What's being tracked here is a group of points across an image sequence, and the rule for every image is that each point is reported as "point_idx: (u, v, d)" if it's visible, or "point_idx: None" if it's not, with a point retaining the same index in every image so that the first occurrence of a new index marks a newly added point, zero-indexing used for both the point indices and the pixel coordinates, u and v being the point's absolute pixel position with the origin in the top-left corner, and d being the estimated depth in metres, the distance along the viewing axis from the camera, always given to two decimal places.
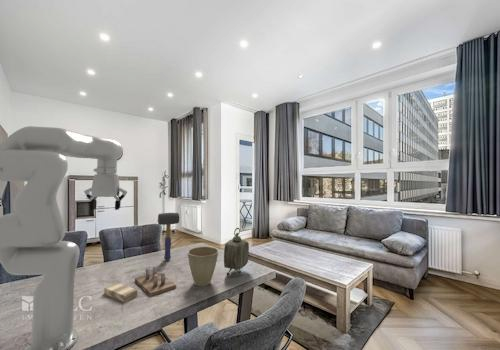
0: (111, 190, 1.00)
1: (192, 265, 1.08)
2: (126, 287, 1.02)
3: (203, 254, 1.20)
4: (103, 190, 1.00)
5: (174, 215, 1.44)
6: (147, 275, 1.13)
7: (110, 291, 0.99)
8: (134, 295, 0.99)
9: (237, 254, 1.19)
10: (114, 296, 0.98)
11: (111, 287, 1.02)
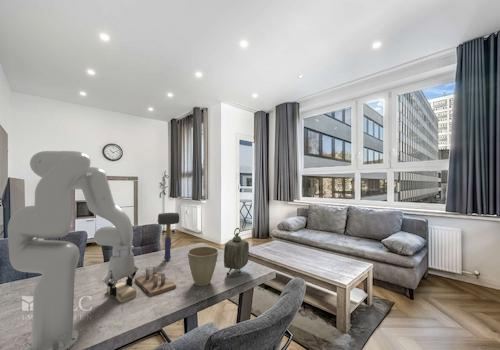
0: None
1: (192, 265, 1.08)
2: (127, 286, 1.02)
3: (203, 254, 1.20)
4: None
5: (174, 215, 1.44)
6: (147, 275, 1.13)
7: None
8: (132, 295, 0.98)
9: (237, 254, 1.20)
10: None
11: None
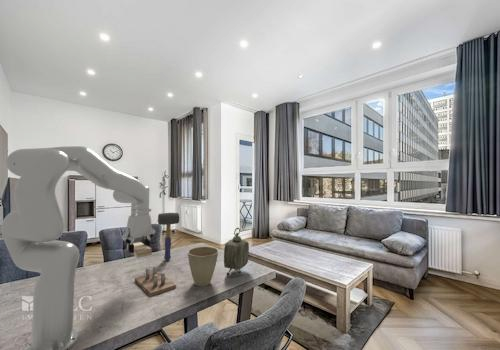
0: None
1: (192, 265, 1.08)
2: (144, 245, 1.07)
3: (203, 254, 1.20)
4: None
5: (174, 215, 1.44)
6: (147, 275, 1.13)
7: None
8: (148, 253, 1.02)
9: (237, 254, 1.20)
10: None
11: None
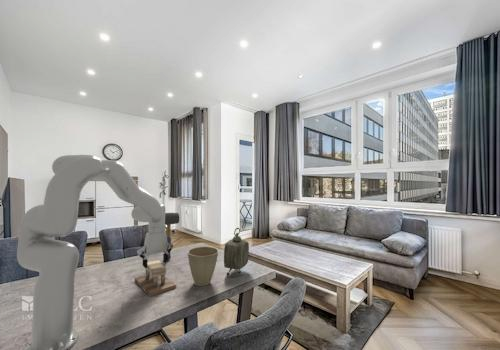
0: None
1: (192, 265, 1.08)
2: (160, 264, 1.12)
3: (203, 254, 1.20)
4: None
5: (174, 215, 1.44)
6: (147, 275, 1.13)
7: (147, 265, 1.11)
8: (162, 272, 1.06)
9: (237, 254, 1.19)
10: (148, 270, 1.09)
11: (150, 262, 1.14)
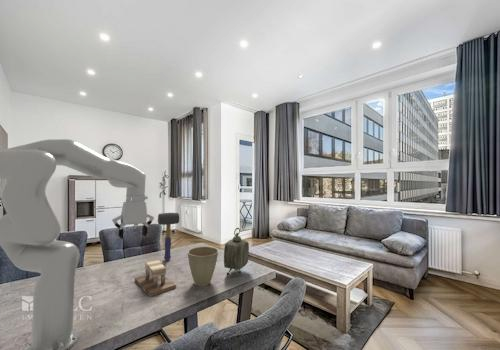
0: None
1: (192, 265, 1.08)
2: (160, 264, 1.12)
3: (203, 254, 1.20)
4: None
5: (174, 215, 1.44)
6: (147, 275, 1.13)
7: (147, 265, 1.11)
8: (162, 272, 1.06)
9: (237, 254, 1.20)
10: (148, 270, 1.09)
11: (150, 262, 1.14)
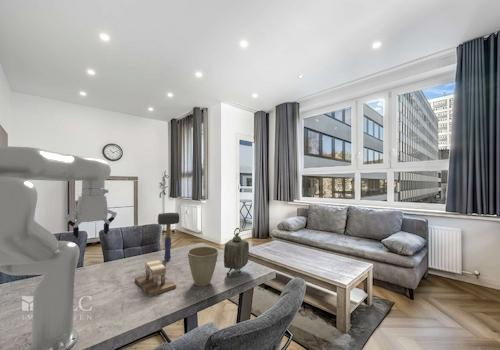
0: None
1: (192, 265, 1.08)
2: (160, 264, 1.12)
3: (203, 254, 1.20)
4: None
5: (174, 215, 1.44)
6: (147, 275, 1.13)
7: (147, 265, 1.11)
8: (162, 272, 1.06)
9: (237, 254, 1.19)
10: (148, 270, 1.09)
11: (150, 262, 1.14)
